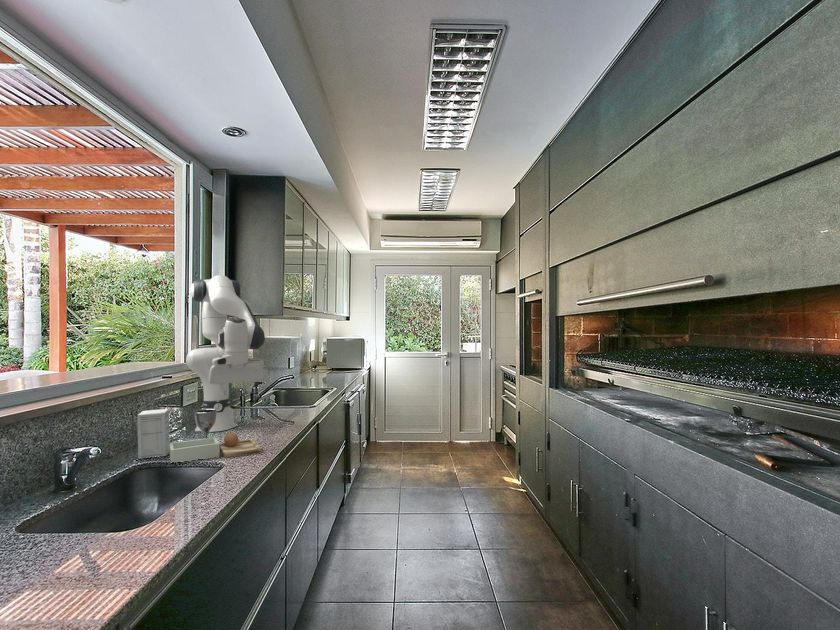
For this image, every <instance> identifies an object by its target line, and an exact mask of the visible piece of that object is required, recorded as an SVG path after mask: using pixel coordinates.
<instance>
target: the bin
mask: <svg viewBox="0 0 840 630" xmlns="http://www.w3.org/2000/svg"><path fill="white" fill-rule="evenodd" d="M219 444H220V442H219V441H218V439H217V437H216V436H213V437H207V438H205V437H204V438H199V439H198V438H197V439H190V440H185V441H184V440H183V441H177V442H175V441H174V442H170V451H169V460H171V462H170V464H171V463H172V462H181V461H189V462H191V461H190V460H196V461H199V460H198V459H203V460H207V459H208V458H209V459H214V458H215V457H216V458H220V456H221V455H220V449H219Z"/></svg>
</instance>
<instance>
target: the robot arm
mask: <svg viewBox="0 0 840 630" xmlns="http://www.w3.org/2000/svg"><path fill="white" fill-rule="evenodd" d="M189 290H190V296H191V298H192V300H194V301H195V302H198V303H202V310H201V330H202V331H201V332H202V333H201V334H202V336H203V337H204V338H206V340H207V339H208V340H209V341H212V342H214V343H215V345H216V346H215V347H200V348H194V349H192V350H190V351H188V353H187V355H186V358H185V363H186V364H185V365H186V367H188V369H189V370H191V371H192V372H193V373H195V374H196V375H197V376H198V378H199V379H200V381H201V384H202V391H203V400H202V408H203V409H216V421H215V424H214V426H213V427H212V428H211V429H210V431H209V432H208V433H211V432H212V433H213V432H215V433H216V432H221V431H227V430H231V429H232V428H237V427H239V425H238V423H236V422H235V421H234V420H235V417H234V415H235V414H234V409H233V408H232V407H231V398H230V396H229V395H230V393H229V392H230V390H229V388H230V386H229V384H235V383H236V384H237V383H247V382H249V384H250V386H249V387H247V389H246V390H247V391H246V393H247V394H252V393H253V388H254V386H255V384H256V383H255V382H262V381H263V380H264V378H265V376H264V367H265V362H264V361H265V360H264V359H263V358H260V357H256V358H255V357H254V358H253V357H249V350H258V349H260V348H261V347H263V346H264V343H265V341H266V337H265V332H264V329H263V328H262V327H261V326H260V324H259V322H258V321H257V319H256V318H255V317H256V316H255V315H254V314H253V312H252V309H251V308H250V306H249V305H248V303H247V302H246V301H244V300H242V299H241V295H242V287H241V284H240V282H239V281H238V280H233V279H230V278H229V277H228V276H226V275H223V274H218V275H217V274H216V275H214V276H213V277H212V278H209V279H196V280H194V281H193V282H192V283H191V286H190V289H189ZM227 316H231V317H230V318H228V317H227ZM203 409H202V410H203ZM236 426H237V427H236ZM194 432H202V430H200V429H199V428H198V426H197V425H196V427H195V429H194Z"/></svg>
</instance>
